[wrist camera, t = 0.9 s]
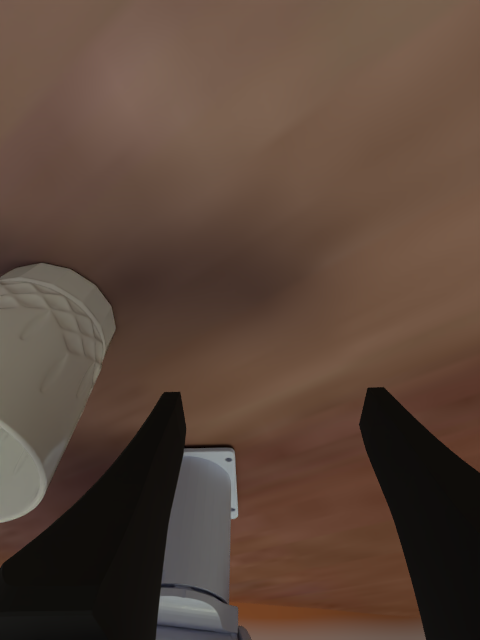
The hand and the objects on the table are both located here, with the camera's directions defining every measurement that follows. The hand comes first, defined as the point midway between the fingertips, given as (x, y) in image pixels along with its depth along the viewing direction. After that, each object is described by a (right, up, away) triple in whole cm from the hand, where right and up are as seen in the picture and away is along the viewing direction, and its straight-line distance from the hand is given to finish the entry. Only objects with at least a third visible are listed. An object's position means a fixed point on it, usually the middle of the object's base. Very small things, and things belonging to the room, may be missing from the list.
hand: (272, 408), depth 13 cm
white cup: (-12, +4, +7) cm, 14 cm away
